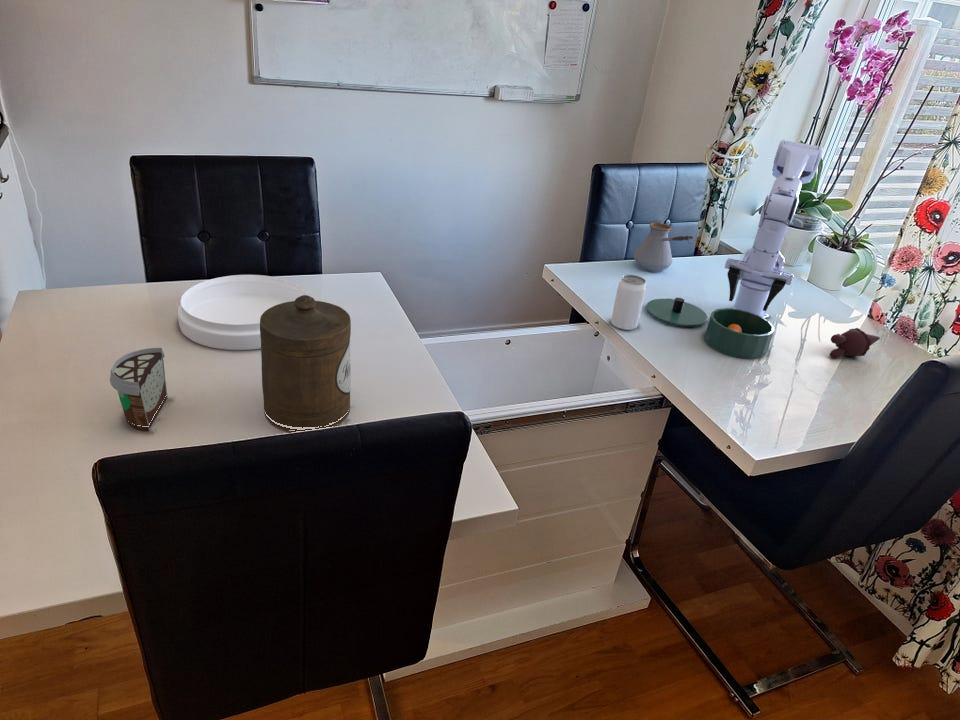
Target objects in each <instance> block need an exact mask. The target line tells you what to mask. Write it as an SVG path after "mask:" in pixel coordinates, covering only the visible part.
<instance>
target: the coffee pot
mask: <svg viewBox="0 0 960 720" xmlns="http://www.w3.org/2000/svg"><path fill="white" fill-rule="evenodd" d="M649 228H650V231H649V233H648V234H647V235H646V236H645V238H644V239H643V241H642V242H641V244H640V245H639V246H638V248H637V249H636V250H635V252H634V253H633V260H634V261H635V263H636V264H637V266H638V268H640V269H642V270H644V271H646V272H652V273H661V272H664V270H666V269H669V268H670V267H671V265H672V264H673V255H672V249H671V245H670V241H675V242H677V241H678V242H679V241H681V242H682V241H687V243H688V244H690V245H694V243H695V242H696V238H694V237H693V236H691V235H681V236H680V235H679V236H674V237H669V233H670V231H672V226H670V225H669V224H666V223H662V222H650V223H649ZM692 239H693V242H691V243H690V242H689V240H692Z"/></svg>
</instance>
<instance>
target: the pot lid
mask: <svg viewBox="0 0 960 720" xmlns="http://www.w3.org/2000/svg"><path fill="white" fill-rule="evenodd" d="M645 305H646V306H645V309H646V311H647V313H648V314H649V315H651V316H652V317H653V318H655V319H656V320H659V321H661V322H663V323H665V324H670V325H673V326H679V327H688V328H689V327H691V328H693V327H699V326H702V325H704V324H706V322H707V321H708V315H707V313H706V312H705V311H704V310H703V309H702V308H700V307H698V306H696V305H694V304H692V303H690V302H687V301H685V299H684V298H682V297H675V298H674V299H673V298H656V299H652V300H649V301H648V302H647V303H646V304H645Z"/></svg>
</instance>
